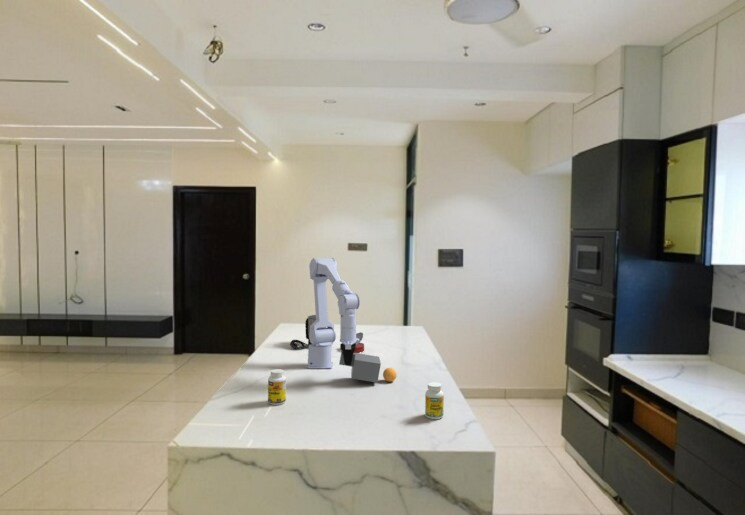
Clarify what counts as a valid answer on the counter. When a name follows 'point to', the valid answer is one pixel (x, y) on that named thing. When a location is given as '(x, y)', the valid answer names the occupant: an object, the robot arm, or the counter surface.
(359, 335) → the canned food
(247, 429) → the counter surface
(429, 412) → the supplement bottle
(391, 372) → the ball
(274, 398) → the supplement bottle
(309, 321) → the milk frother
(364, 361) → the grey blocky piece
